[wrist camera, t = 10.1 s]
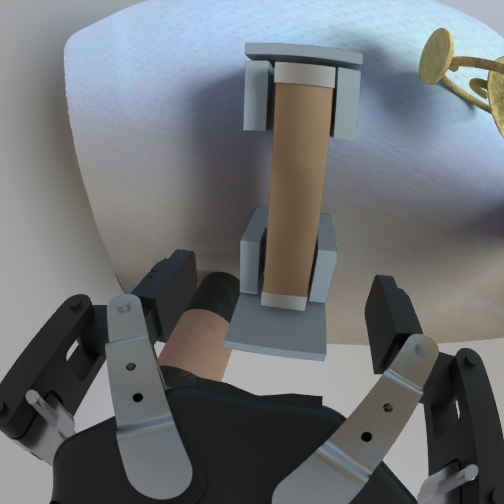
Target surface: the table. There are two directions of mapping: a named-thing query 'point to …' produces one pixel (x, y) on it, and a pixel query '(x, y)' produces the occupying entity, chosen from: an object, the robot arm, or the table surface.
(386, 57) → the table surface
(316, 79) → the brown wooden bar
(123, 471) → the robot arm
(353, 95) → the pair of grey brackets
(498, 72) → the wall sconce
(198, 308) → the travel mug
